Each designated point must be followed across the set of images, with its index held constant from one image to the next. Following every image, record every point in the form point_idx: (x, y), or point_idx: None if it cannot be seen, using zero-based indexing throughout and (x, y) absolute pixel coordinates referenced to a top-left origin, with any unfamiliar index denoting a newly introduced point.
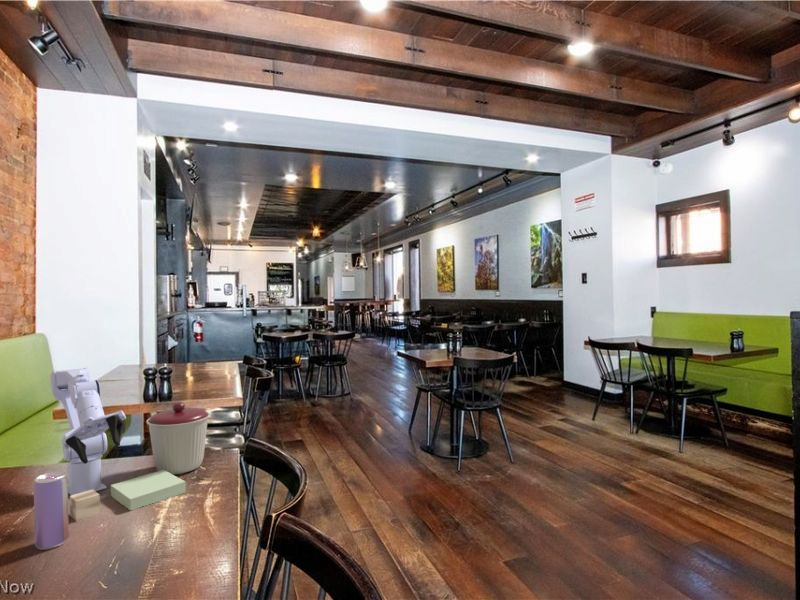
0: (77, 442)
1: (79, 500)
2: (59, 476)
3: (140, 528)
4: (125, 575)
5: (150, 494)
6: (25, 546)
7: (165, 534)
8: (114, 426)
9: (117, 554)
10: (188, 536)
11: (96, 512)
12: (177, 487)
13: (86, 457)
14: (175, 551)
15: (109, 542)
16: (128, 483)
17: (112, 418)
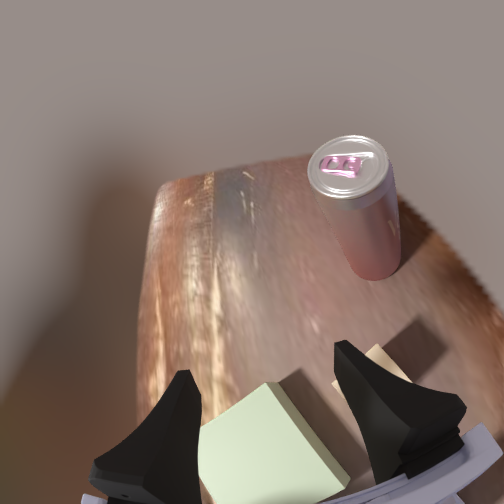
0: (384, 404)
1: (370, 349)
2: (321, 168)
3: (240, 300)
4: (231, 190)
5: (233, 406)
6: (419, 248)
7: (203, 276)
8: (138, 428)
9: (251, 226)
10: (179, 268)
11: None
12: None
13: (345, 394)
14: (190, 235)
15: (274, 257)
16: (299, 485)
17: (110, 464)
